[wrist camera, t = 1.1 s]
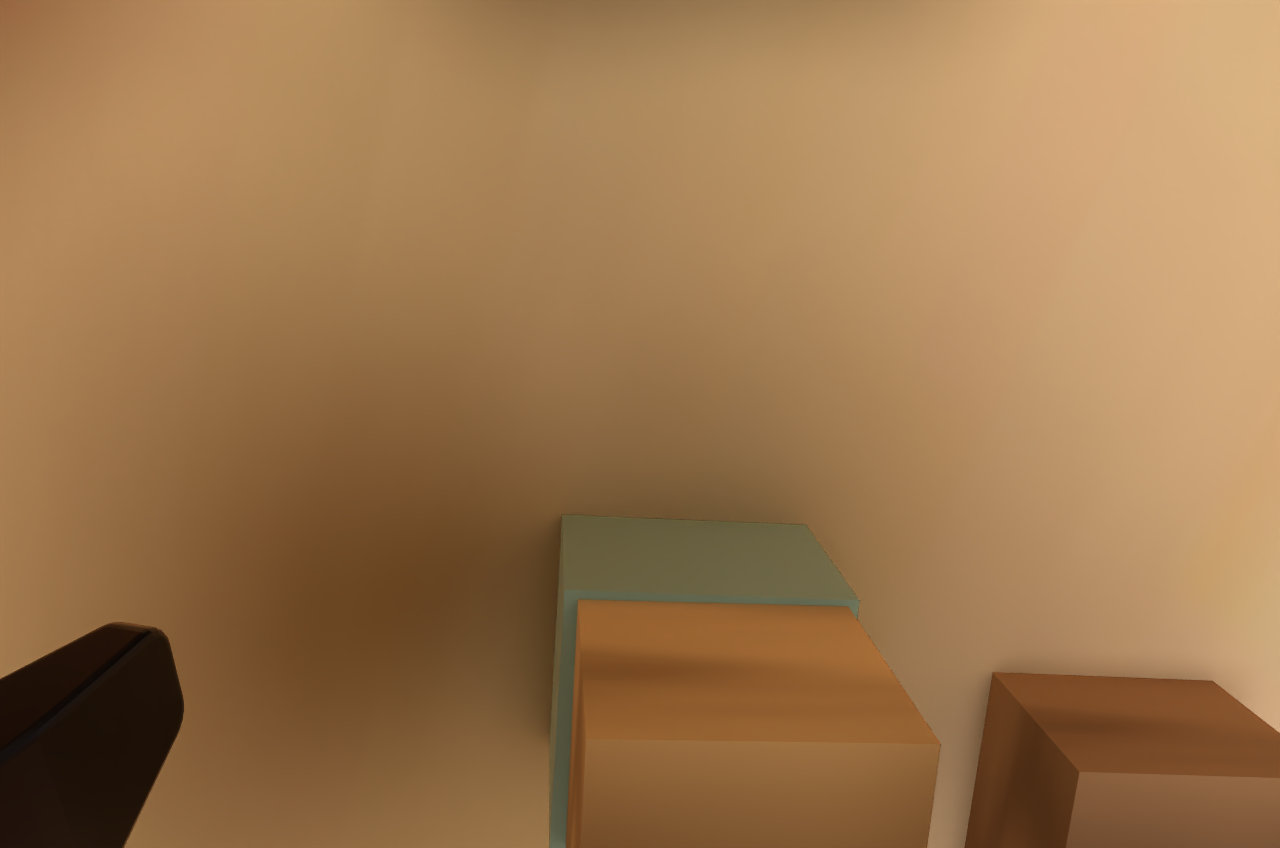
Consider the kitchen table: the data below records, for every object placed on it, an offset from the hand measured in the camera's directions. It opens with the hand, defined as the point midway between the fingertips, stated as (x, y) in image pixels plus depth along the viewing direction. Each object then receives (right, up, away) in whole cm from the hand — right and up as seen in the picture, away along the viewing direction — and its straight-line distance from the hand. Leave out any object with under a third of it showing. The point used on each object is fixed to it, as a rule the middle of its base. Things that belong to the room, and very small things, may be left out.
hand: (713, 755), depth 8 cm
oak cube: (+1, -2, +10) cm, 10 cm away
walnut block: (+9, -5, +15) cm, 18 cm away
